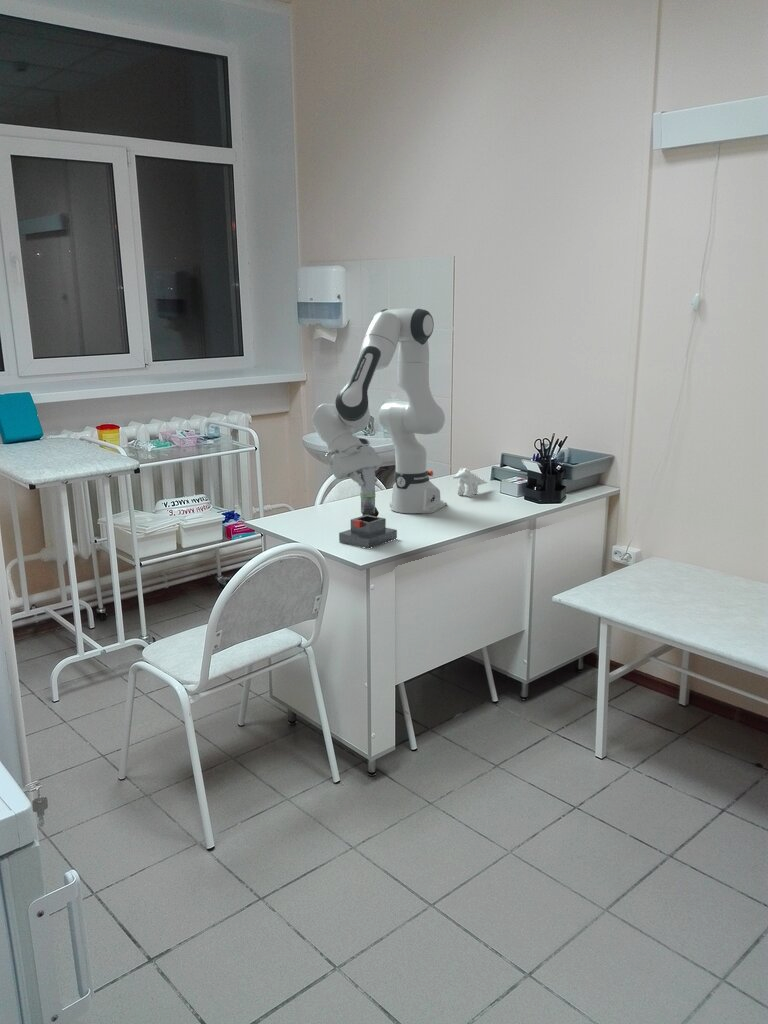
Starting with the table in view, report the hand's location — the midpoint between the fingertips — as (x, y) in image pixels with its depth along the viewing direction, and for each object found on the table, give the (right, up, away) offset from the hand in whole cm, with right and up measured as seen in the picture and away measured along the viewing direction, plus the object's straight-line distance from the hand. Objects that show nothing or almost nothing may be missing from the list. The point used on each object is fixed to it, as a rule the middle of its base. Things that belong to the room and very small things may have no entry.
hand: (369, 483), depth 253 cm
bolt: (-1, -14, +24) cm, 27 cm away
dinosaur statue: (+39, -2, +68) cm, 78 cm away
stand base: (0, -18, +5) cm, 19 cm away
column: (-1, -9, +3) cm, 9 cm away
